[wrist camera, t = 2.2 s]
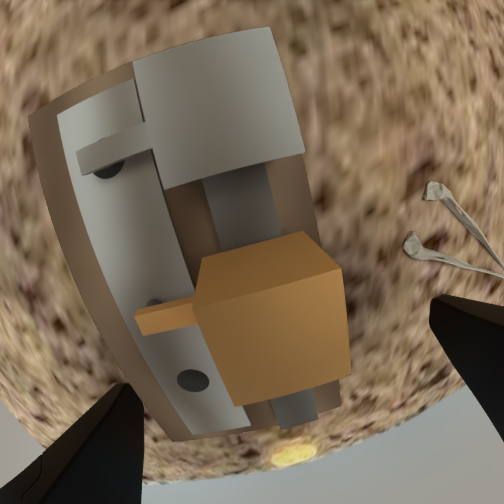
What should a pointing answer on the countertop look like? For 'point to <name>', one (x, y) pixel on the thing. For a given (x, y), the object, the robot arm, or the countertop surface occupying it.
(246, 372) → the orange block with tab
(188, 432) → the board
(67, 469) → the robot arm
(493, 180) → the countertop surface
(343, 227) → the countertop surface
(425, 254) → the grey tweezers
